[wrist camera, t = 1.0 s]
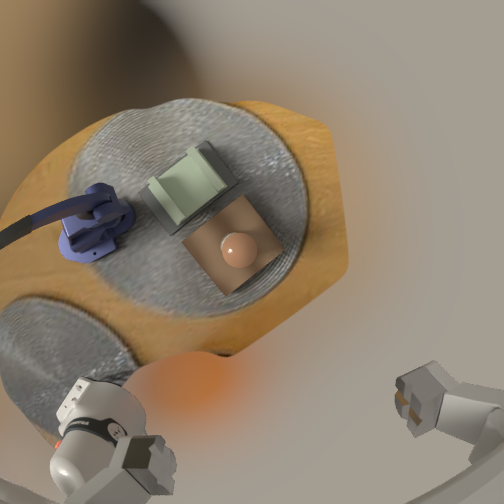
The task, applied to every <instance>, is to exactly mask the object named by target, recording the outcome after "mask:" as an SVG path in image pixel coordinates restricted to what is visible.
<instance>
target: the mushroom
mask: <svg viewBox="0 0 504 504" xmlns="http://www.w3.org/2000/svg"><path fill="white" fill-rule="evenodd" d="M220 247H221V251H222V255H223V257H224V259H225V261H226V262H227V263H228V264H229V265H230V266H232V267H235V268H244V267H247V266H249V265H250V264H252V263H253V261H254V260H255V258H256V256H257V245H256V242H255V241H254V239H253V238H252V237H251V236H249V235H248V234H245V233H237V232H231V233H228V234H227V235H225V236H224V237H223V239H222V241H221V245H220Z"/></svg>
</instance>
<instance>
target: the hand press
mask: <svg viewBox="0 0 504 504" xmlns="http://www.w3.org/2000/svg"><path fill="white" fill-rule="evenodd" d="M85 192H86V195H81V196H77V197H74V198H70V199H67V200H64V201H61V202H59V203H56V204H54V205H52V206H49V207H47V208H45V209H43V210H41V211H38V212H36V213H34V214H32V215H28V216H26V217H24V218H22V219H21V220H19V221H17V222H15V223H14V224H12V225H10V226H9V227H7V228H5V229H4V230H2V231H1V232H0V250H1V249H2V248H4V247H5V246H7V245H9V244H10V243H12V242H14V241H15V240H17V239H19V238H21V237H23V236H25V235H27V234H29V233H31V231H33V230H35V229H37V228H39V227H42V226H44V225H47V224H49V223H52V222H55V221H58V220H61V221H62V224H63V231H62V233H61V235H60V238H59V249H60V252H61V254H62V255H63V256H64V257H65V258H66V259H68V260H72V261H76V262H81V263H89V262H92V261H95V260H97V259H99V258H101V257H103V256H105V255H107V254H108V253H110V252H112V251H114V250H116V249H117V248H118V244H117V242H116V237H117V236H118V235H120V234H122V233H124V232H126V231H128V230H129V229H131V228H132V226H133V225H134V222H135V218H136V215H135V211H134V209H133V207H132V206H131V205H129V204H128V203H127V201H124V200H121V199H118V198H117V196H116V193H115V191H114V188H113V187H112V186H110V185H107V184H105V183H97V184H94V185H92V186H90V187H89V188H87V189H86V191H85ZM122 215H123V217H122ZM121 217H122V218H121Z"/></svg>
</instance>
